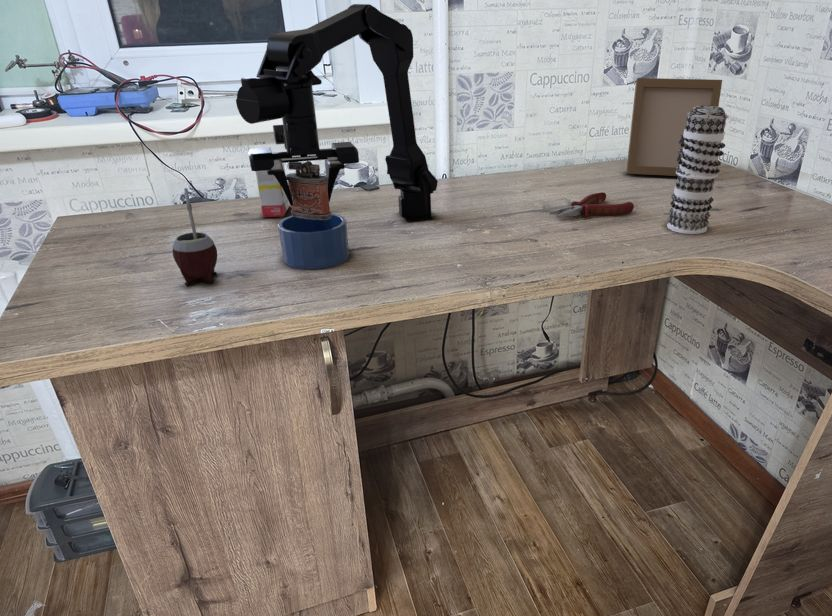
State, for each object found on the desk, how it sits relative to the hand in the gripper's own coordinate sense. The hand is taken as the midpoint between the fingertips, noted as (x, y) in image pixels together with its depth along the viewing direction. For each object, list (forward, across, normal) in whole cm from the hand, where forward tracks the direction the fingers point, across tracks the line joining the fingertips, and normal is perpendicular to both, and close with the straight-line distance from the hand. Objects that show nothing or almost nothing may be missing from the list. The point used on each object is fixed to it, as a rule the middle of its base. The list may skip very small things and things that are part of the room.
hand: (310, 203), depth 116 cm
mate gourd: (+11, +21, +4) cm, 24 cm away
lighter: (+3, 0, 0) cm, 3 cm away
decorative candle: (+11, -79, +9) cm, 80 cm away
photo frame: (+11, -103, -34) cm, 109 cm away
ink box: (+11, +5, -32) cm, 34 cm away
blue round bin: (+11, 0, 0) cm, 11 cm away
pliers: (+11, -64, -9) cm, 65 cm away
